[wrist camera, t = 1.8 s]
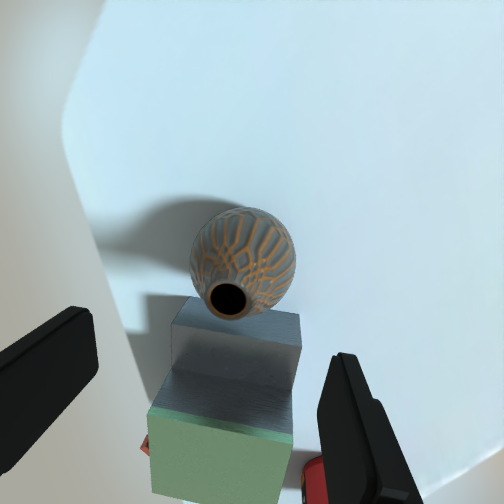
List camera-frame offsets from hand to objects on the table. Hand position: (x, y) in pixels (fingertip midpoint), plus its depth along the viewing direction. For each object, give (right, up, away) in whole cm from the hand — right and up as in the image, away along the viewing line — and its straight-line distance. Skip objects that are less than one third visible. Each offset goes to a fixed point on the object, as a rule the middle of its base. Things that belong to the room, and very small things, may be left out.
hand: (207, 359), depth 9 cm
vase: (+2, +5, +11) cm, 12 cm away
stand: (0, -7, +15) cm, 17 cm away
